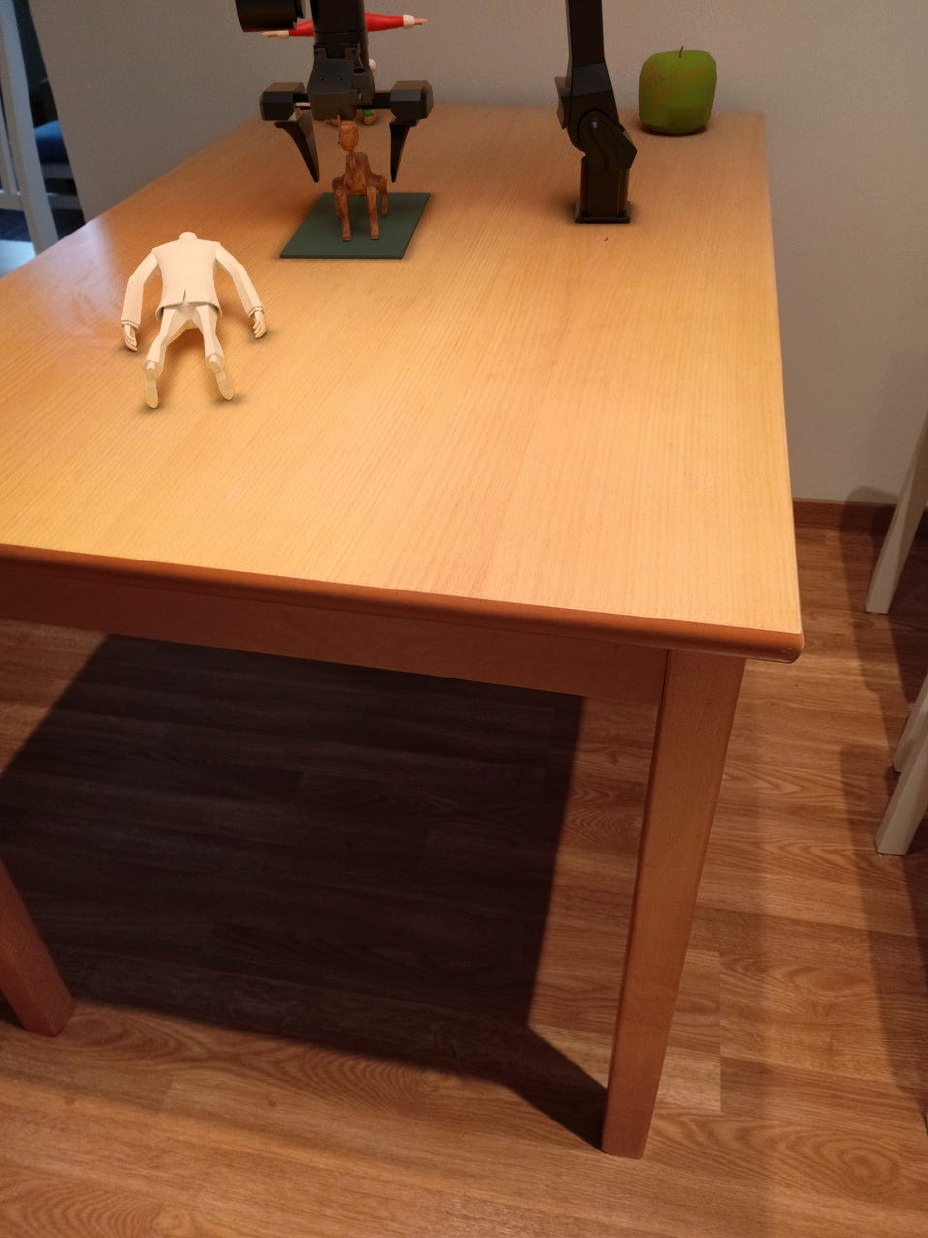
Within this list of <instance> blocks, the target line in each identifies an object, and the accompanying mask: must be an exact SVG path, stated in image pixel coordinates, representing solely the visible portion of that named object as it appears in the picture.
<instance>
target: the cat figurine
mask: <svg viewBox="0 0 928 1238" xmlns="http://www.w3.org/2000/svg"><path fill="white" fill-rule="evenodd" d="M338 125H339V127H337V134H338V137H339V138H338V141H337V144H338V146H339V149H340V150H341V149H342V150H343V151H346V152H347V154H346V155H345V166H344V167H345V168H344V173H343V174H342V175H340V176H337V177H334V178H333V179H331V188H332V191H333V193H334V199H335V207H336V212H337V216H338V217H340V218H341V222H342V233H343V240H344V241H349V240H351V227H350V217H349V209H348V198H349V197H351V196H361V197H364V196H366V198H367V200H368V210H369V220H370V232H371V239H378V238H379V230H378V217H377V207H376V194H377V193H380V196H381V206H382V214H383V215H385V214H386V213H387V202H388V199H387V193H388V190H387V189H388V186H387V185H388V180H387V178H386V176H384V175H383V174H376V173H374V172H372V169H371V165H370V161H369V156H368V154H367V153H365V152H363V151H355V149H356V147H357V146H358V145H359V140H360V137H359V125H358V123H357V121H356V120H354V119H352V120H343V121H342V120H340V116H339V115H338Z"/></svg>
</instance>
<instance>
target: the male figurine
mask: <svg viewBox="0 0 928 1238" xmlns="http://www.w3.org/2000/svg"><path fill="white" fill-rule="evenodd" d="M219 270H220V271H221V270H222V271H223V272H224V273H225V274H226V275H227V276H229V277H230V278H231V279H232V280H233V283H234V286H235V289H236V292H237V294H238V297H239V299H240V302H241V304H242V307H243V309H244V312H245V314H246V316H247V317H248V318H249V319H251V320H253V321H254V325H253V327H252V329H253V330H254V332H253V333H254V334H255V335H254V337H255V338H256V339H258V338H261V337H262V336H263V335H264V334H265V333H266V332H267V322H266V319H265V315H264V314H265V313H266V312H265V311H266V308H265V306H264V304H263V302H262V300H261V298H260V296H259V294H258V291H257V290H256V288H255V285H254V284H253V282H252V280H251V278H250V276H249V274H248V273H247V271H246V269H245V267H244V266H243V265H242V264H241V263H239V261H238V260H237V259H236V257H234V256H233V254H231V253H230V252H229V251H228V250H227V249H225V248H224V247H223V245H221V242H219V241H214V240H208V239H203V238H198V236H197V235H196V234H195V233H194V232H191V231H185V232H182V233H181V234H179V236H178V239H176V240H172V241H169V242H166V243H163V244H160V245H158V246H155V247H153V248H151V251H150V253H149V254H148V255H147V256H146V257H145V258H144V259H143V261H142V262H141V263H139V265H138V267H136V269H135V271H134V272H133V273H132V274H131V275H130V276H129V279H128V281H127V285H126V290H125V296H124V300H123V305H122V306H123V307H122V312H121V318H120V325H121V327H120V328H122V329H123V333H122V334H123V339H124V342H125V346H126V347H127V348H129V349H130V350H132V351H135V352H136V351H137V350H138V348H137V339H136V332H138V331H139V330H140V328H141V319H142V311H143V303H144V293H145V289H146V288H147V287H148V286H149V284H150V283H151V282H152V281H153V280H154V278H156V277H157V276H159V277H161V279H162V280H161V281H162V288H161V289H162V290H161V297H160V301H159V303H158V307H157V308H156V310H155V312H154V313H155V314H154V316H155V320H156V322H157V323H158V324H160V330H159V333H158V335H156V337H155V338H154V339H153V341H152V344H151V345H150V348H149V350H148V353H147V355H146V356H145V358H144V361H143V363H142V365H141V366H140V369H141V370H142V371H143V372H144V374H145V389H144V396H145V397H144V398H145V402H146V404H147V405H148V406H149V407H150V408H153V409H155V408H157V407H158V404H159V393H158V390H157V387H156V379H159V378H160V376H161V374H162V373H163V371H164V365H165V357H166V356H165V355H166V351H167V349H168V345H170V344H171V343H173V342H174V341H175V340H176V339H178V337H179V336H181V335H182V334H183V332H185V331H186V330H189V329H198V330H199V331H200V333H201V335H202V336H203V344H204V358H205V359H204V360H205V366H206V367H207V368H208V369H209V370H211V371H212V372H213V373H214V376H215V379H216V383H217V386H218V389H219V391H220V393H221V395H222V396H223V397H224V398H225V399H226V400H229V401H230V400H231V399H232V398H233V396H234V391H233V387H232V385H231V382H230V381H229V380H228V378H227V376H226V373H225V372H224V366H225V361H226V360H225V359H226V358H225V355H224V352H223V348H222V345H221V343H220V341H219V339H218V336H217V334H216V328H217V320H219V319H221V318H222V316H223V311H222V308H221V306H220V303H219V300H218V296H217V293H216V289H215V281H216V278H217V274H218V272H219Z"/></svg>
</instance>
